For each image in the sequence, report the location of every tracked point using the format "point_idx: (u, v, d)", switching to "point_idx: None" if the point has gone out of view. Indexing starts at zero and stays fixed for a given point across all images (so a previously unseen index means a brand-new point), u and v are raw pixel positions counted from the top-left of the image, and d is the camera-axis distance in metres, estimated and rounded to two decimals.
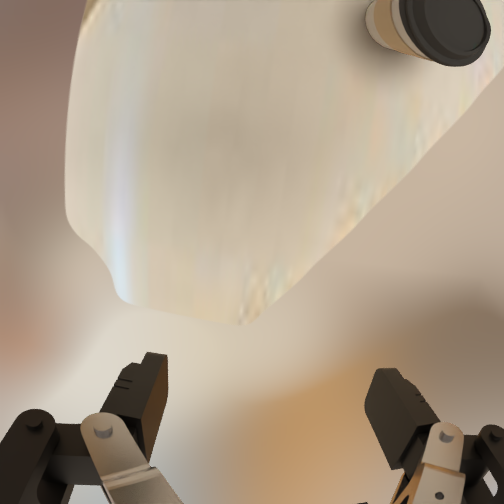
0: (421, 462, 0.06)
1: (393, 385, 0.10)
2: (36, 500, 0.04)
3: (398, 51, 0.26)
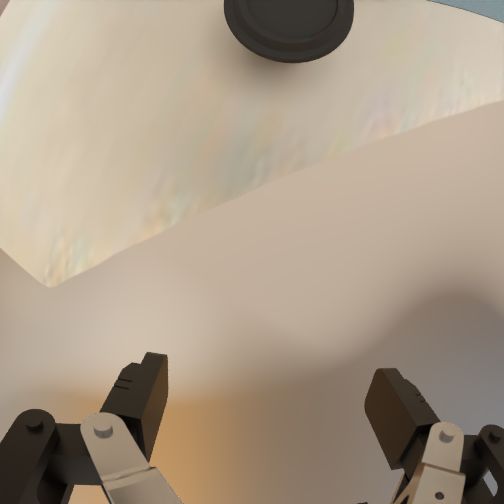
0: (421, 462, 0.06)
1: (393, 385, 0.10)
2: (36, 500, 0.04)
3: None
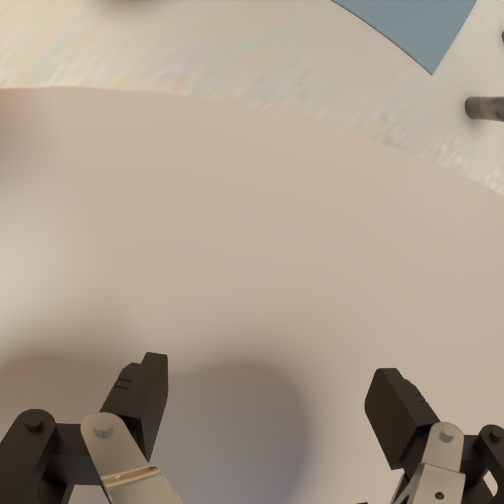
0: (421, 462, 0.06)
1: (393, 385, 0.10)
2: (36, 500, 0.04)
3: None
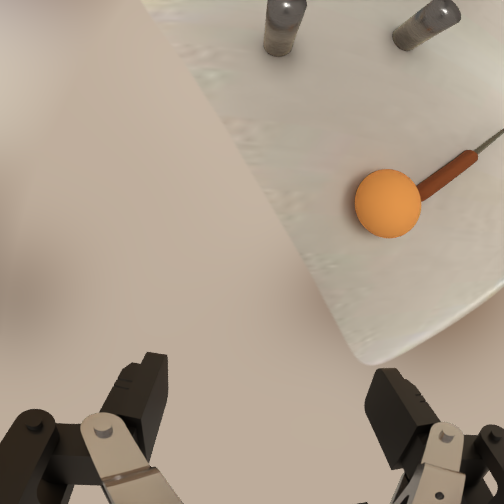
0: (421, 462, 0.06)
1: (393, 385, 0.10)
2: (36, 500, 0.04)
3: None
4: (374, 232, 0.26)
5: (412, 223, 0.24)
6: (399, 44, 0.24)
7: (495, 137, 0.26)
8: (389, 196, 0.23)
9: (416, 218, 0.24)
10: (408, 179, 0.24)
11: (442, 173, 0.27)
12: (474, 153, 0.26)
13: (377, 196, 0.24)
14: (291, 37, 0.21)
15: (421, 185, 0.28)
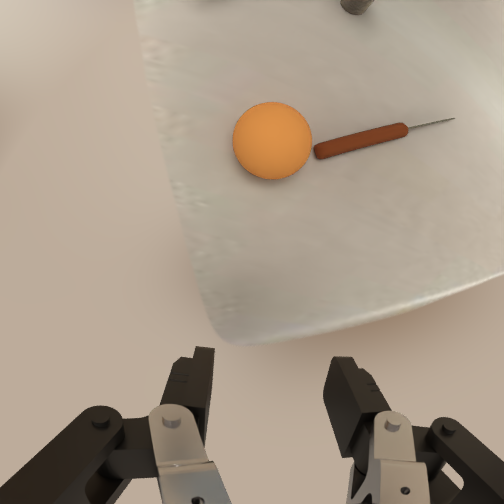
0: (374, 457, 0.06)
1: (345, 372, 0.10)
2: (83, 493, 0.05)
3: None
4: (243, 163, 0.23)
5: (289, 160, 0.22)
6: (345, 5, 0.22)
7: (438, 121, 0.25)
8: (264, 120, 0.21)
9: (296, 156, 0.22)
10: (298, 114, 0.22)
11: (355, 134, 0.25)
12: (404, 125, 0.25)
13: (251, 118, 0.21)
14: None
15: (326, 141, 0.26)
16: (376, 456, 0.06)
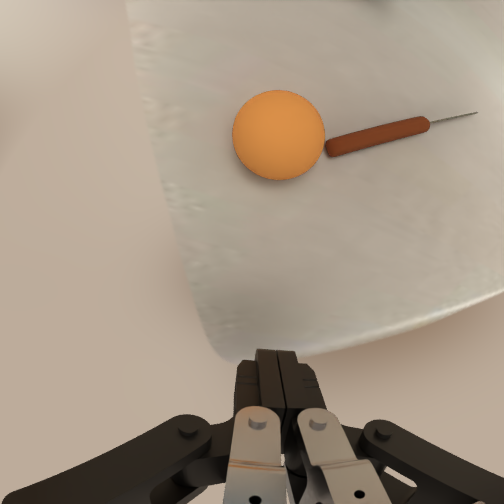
0: (310, 463, 0.06)
1: (281, 366, 0.11)
2: (147, 496, 0.05)
3: None
4: (245, 161, 0.20)
5: (299, 158, 0.18)
6: None
7: (461, 115, 0.21)
8: (270, 110, 0.17)
9: (307, 153, 0.18)
10: (309, 104, 0.18)
11: (372, 128, 0.21)
12: (425, 119, 0.21)
13: (254, 108, 0.18)
14: None
15: (339, 136, 0.22)
16: (312, 461, 0.06)
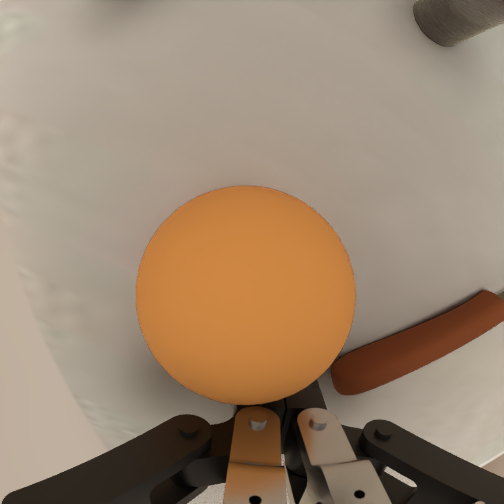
0: (310, 463, 0.06)
1: None
2: (147, 496, 0.05)
3: None
4: (152, 327, 0.07)
5: (302, 280, 0.06)
6: (426, 22, 0.09)
7: None
8: (217, 190, 0.08)
9: (323, 272, 0.07)
10: None
11: (419, 345, 0.11)
12: None
13: (185, 204, 0.08)
14: None
15: (357, 361, 0.12)
16: (312, 461, 0.06)
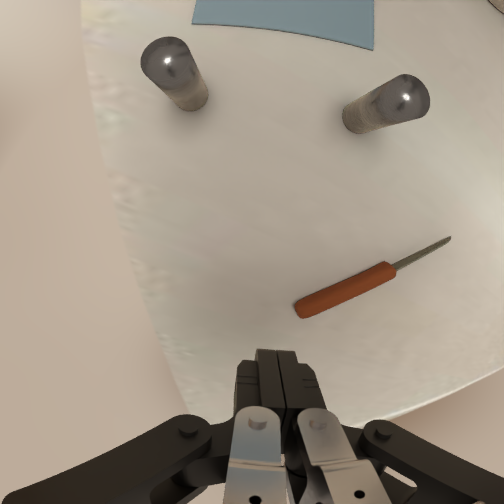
0: (310, 463, 0.06)
1: (281, 366, 0.11)
2: (147, 496, 0.05)
3: None
4: None
5: None
6: (347, 124, 0.23)
7: (431, 249, 0.25)
8: None
9: None
10: None
11: (338, 290, 0.25)
12: (391, 269, 0.25)
13: None
14: (185, 97, 0.18)
15: (307, 300, 0.26)
16: (312, 461, 0.06)
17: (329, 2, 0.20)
